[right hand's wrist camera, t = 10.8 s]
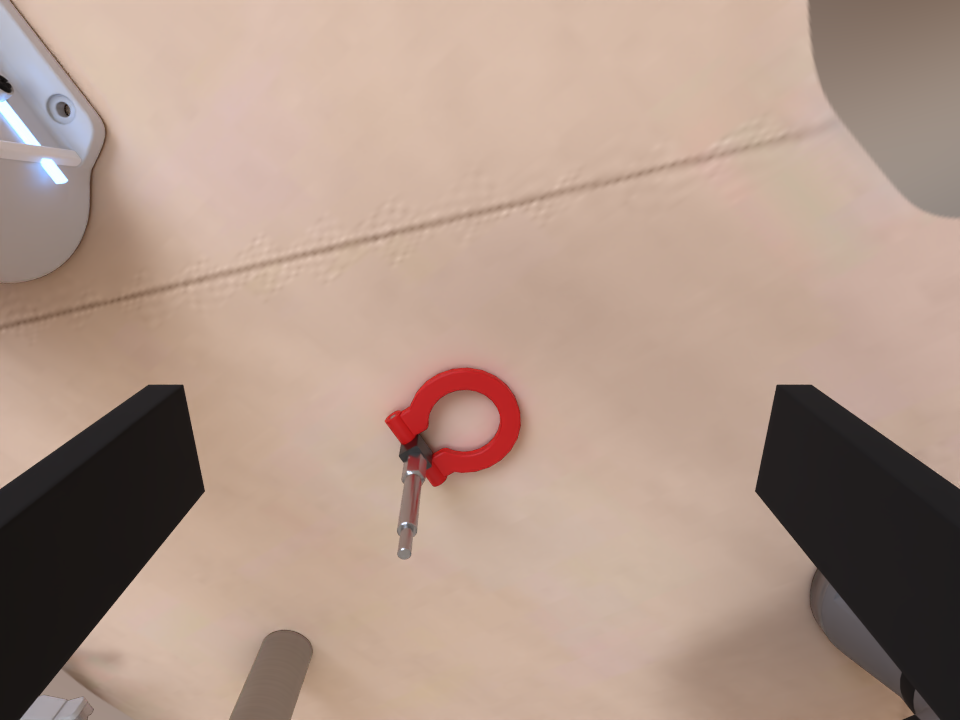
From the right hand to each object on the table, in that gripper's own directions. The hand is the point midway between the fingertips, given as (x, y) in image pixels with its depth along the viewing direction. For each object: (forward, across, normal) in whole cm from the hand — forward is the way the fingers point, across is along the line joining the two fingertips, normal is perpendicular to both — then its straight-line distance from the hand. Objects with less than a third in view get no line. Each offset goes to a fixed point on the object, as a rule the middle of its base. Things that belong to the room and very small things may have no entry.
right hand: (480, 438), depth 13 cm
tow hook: (+27, +2, +13) cm, 30 cm away
